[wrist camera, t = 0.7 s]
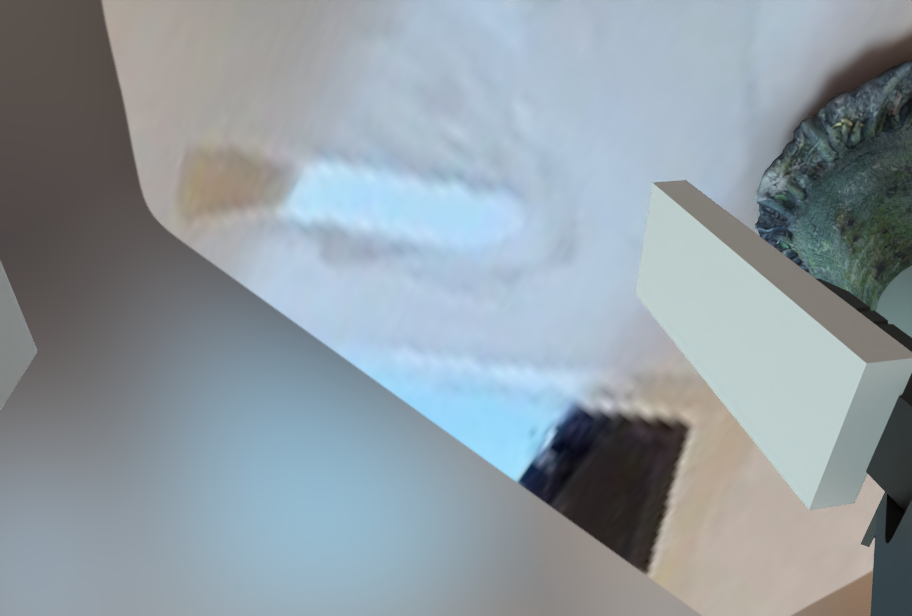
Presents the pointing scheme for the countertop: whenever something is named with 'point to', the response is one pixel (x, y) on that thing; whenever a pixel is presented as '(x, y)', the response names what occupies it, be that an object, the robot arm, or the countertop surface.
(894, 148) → the tree stump
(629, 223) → the countertop surface
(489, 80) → the countertop surface
